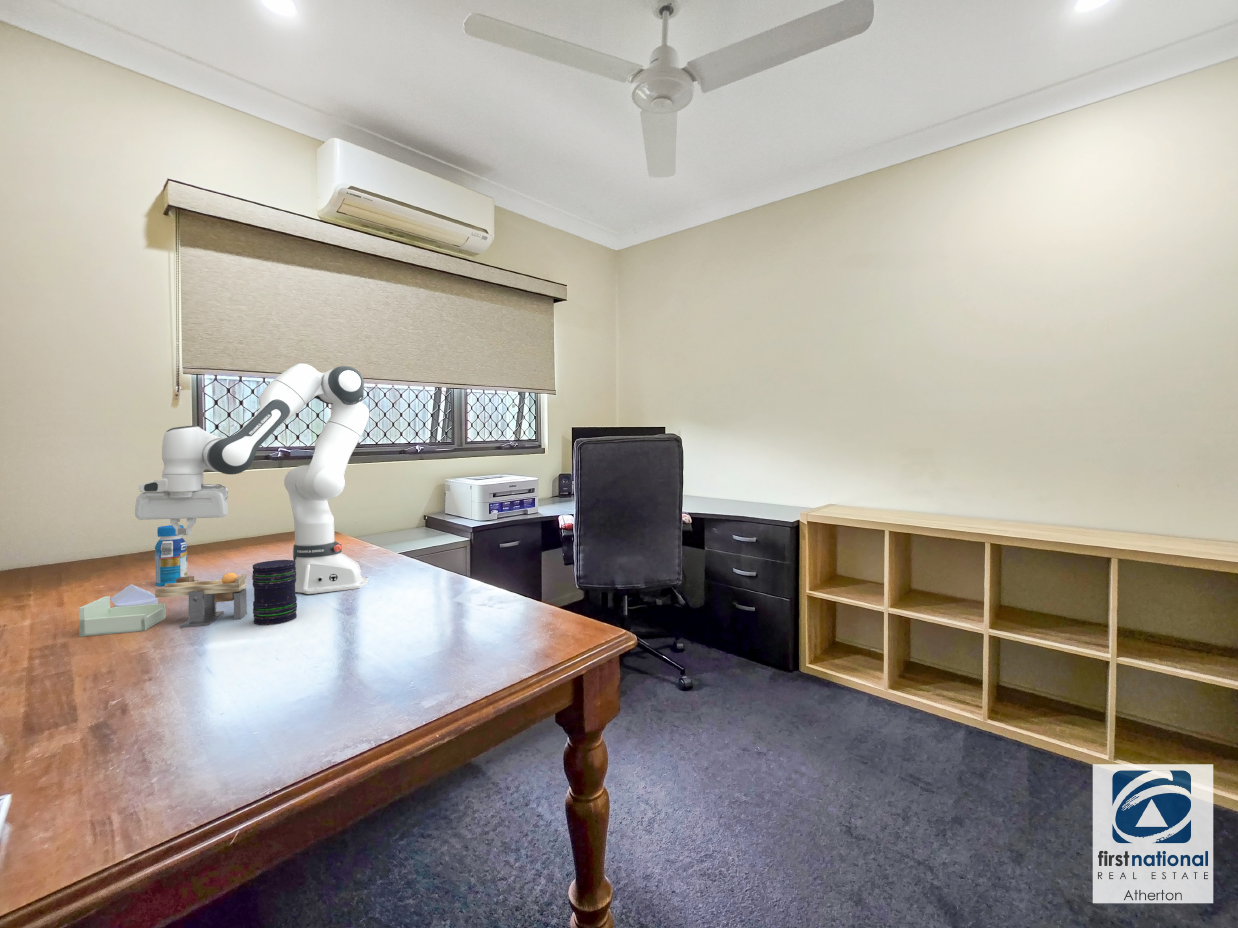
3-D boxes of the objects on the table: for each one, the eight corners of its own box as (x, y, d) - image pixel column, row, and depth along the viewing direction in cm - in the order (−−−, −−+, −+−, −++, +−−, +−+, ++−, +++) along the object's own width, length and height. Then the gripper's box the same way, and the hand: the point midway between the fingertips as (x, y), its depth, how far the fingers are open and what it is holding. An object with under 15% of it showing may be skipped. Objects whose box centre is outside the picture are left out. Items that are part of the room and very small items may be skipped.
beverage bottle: (148, 588, 176) (147, 527, 175) (176, 582, 184) (175, 524, 183) (167, 590, 173) (165, 528, 173) (194, 584, 181) (193, 524, 181)
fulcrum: (250, 610, 150) (249, 580, 150) (236, 622, 140) (236, 589, 140) (198, 615, 146) (197, 583, 146) (180, 627, 136) (179, 593, 136)
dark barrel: (275, 626, 137) (274, 568, 136) (243, 624, 139) (242, 566, 138) (306, 614, 146) (305, 560, 146) (275, 612, 148) (274, 559, 148)
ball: (240, 583, 146) (240, 570, 146) (235, 586, 143) (235, 573, 143) (224, 584, 145) (224, 571, 145) (219, 588, 142) (219, 574, 142)
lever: (256, 587, 156) (256, 567, 156) (239, 600, 142) (238, 578, 142) (181, 592, 151) (181, 571, 150) (155, 607, 136) (154, 584, 136)
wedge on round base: (109, 610, 151) (117, 620, 142) (109, 587, 151) (116, 594, 142) (151, 603, 158) (161, 612, 149) (151, 581, 157) (161, 588, 149)
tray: (165, 617, 144) (165, 591, 144) (145, 630, 134) (144, 602, 134) (105, 623, 140) (105, 596, 140) (79, 636, 130) (78, 607, 129)
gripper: (231, 483, 154) (232, 531, 154) (143, 484, 147) (144, 534, 148) (223, 484, 148) (224, 534, 148) (131, 485, 141) (131, 538, 142)
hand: (183, 534), depth 148 cm, fingers closed
